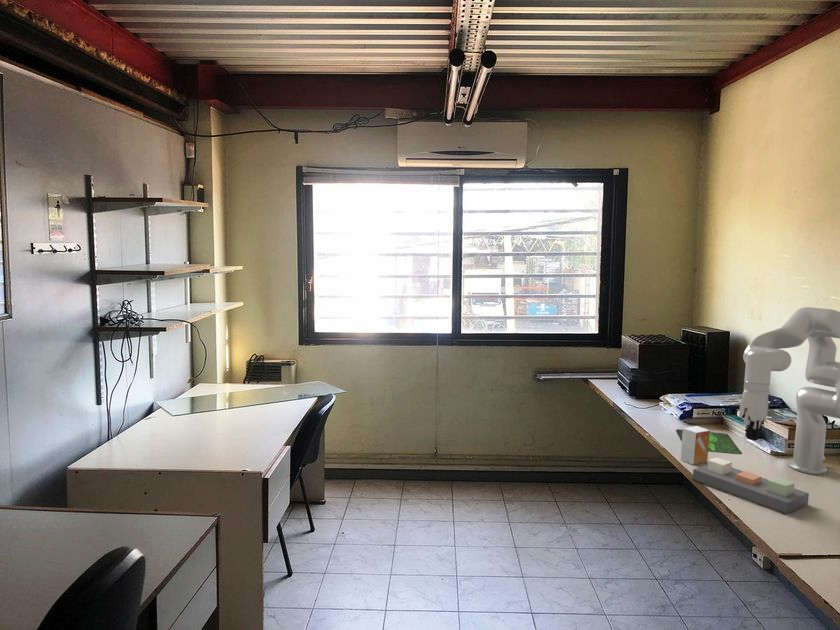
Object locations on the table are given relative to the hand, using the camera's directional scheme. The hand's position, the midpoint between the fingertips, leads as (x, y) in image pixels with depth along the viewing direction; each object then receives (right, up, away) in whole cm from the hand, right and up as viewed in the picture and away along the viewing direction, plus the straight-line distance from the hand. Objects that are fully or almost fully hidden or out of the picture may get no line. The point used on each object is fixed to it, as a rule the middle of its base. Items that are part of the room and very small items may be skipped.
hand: (752, 439), depth 201 cm
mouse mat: (+11, -13, +54) cm, 57 cm away
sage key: (+5, -17, -7) cm, 19 cm away
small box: (-6, -15, +31) cm, 35 cm away
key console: (0, -19, +2) cm, 19 cm away
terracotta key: (0, -18, +2) cm, 18 cm away
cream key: (-6, -15, +11) cm, 19 cm away
